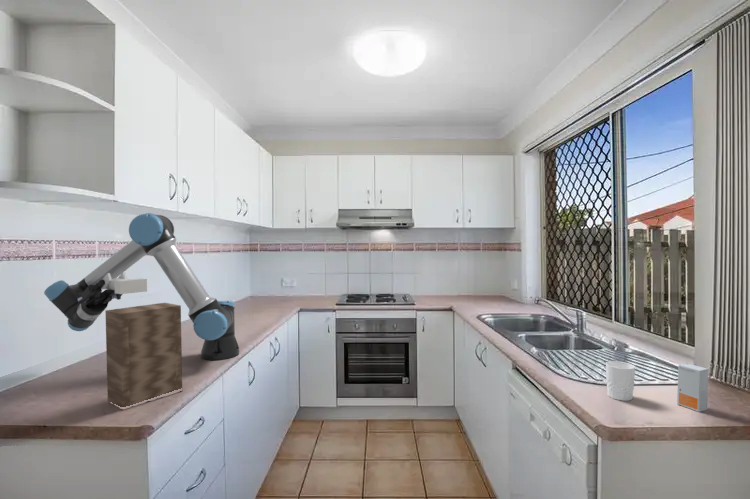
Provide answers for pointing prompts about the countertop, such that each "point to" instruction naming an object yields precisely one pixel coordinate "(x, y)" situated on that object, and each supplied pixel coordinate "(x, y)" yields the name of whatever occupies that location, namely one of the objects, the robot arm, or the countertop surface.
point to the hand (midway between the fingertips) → (117, 276)
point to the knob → (127, 285)
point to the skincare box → (692, 387)
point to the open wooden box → (143, 352)
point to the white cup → (620, 380)
